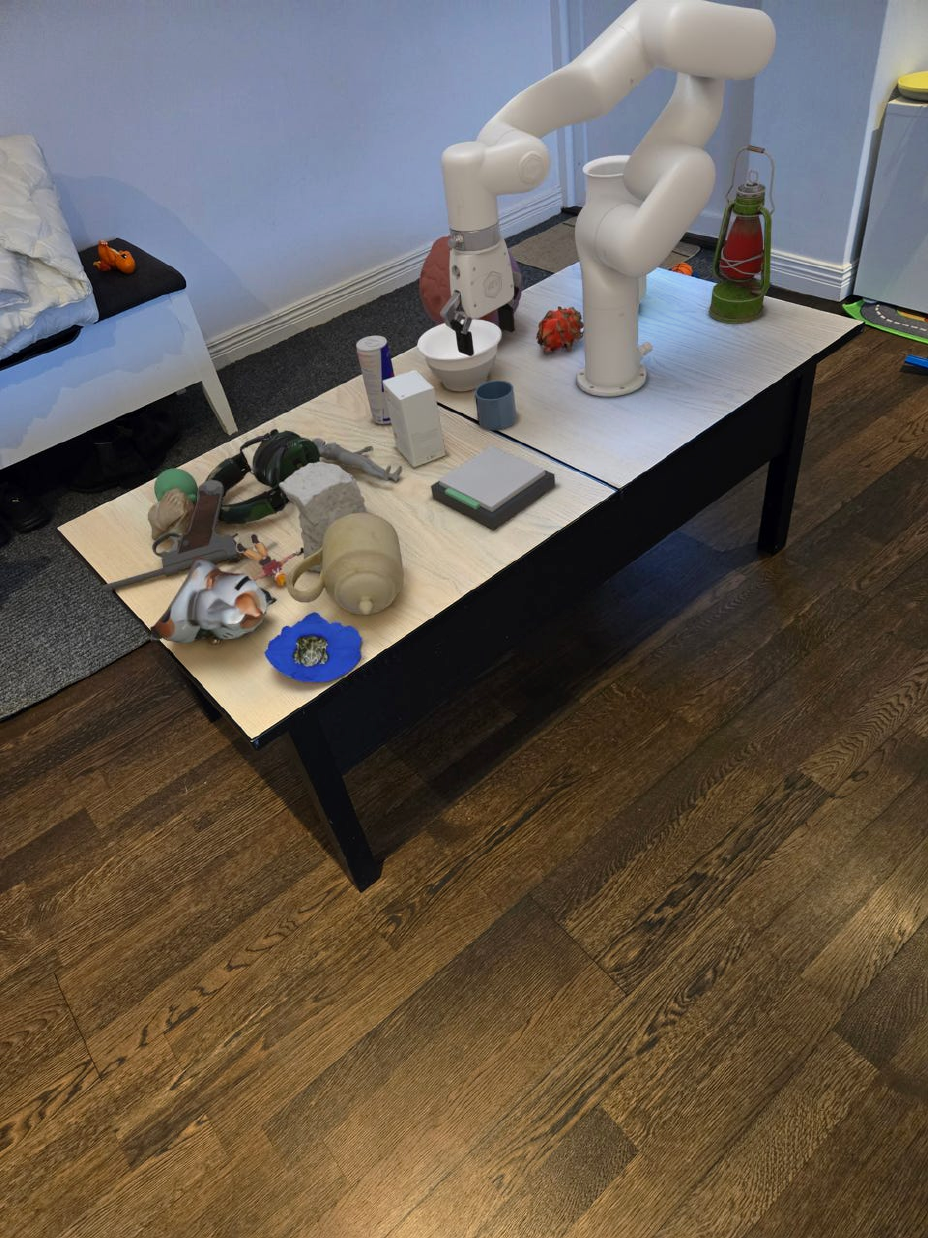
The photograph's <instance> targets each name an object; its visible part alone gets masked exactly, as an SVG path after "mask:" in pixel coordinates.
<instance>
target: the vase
mask: <svg viewBox="0 0 928 1238" xmlns="http://www.w3.org/2000/svg"><path fill="white" fill-rule="evenodd" d="M630 156H631V155H630V154H629V155H628V154H621V155H619V154H618V155H608V156H604V157H599V158H596V159H593V160H590V161H588V162H587V163H585V164H584V165H583V167H582V172H583V173H584V174H585V175H586V181H585V182H586V184H585V200H584V201H585V202H584V205H585V204H586V203H588V202H589V201H590V200H592V199H593V198H596V197H599V196H604V195H608V196H615V197H618V198H621V199H624V200H626V201H628V202H630V203H633V204H635V205H637V206H638V207H640V206H641V205H642V204H643V201H641V200H639V199H637V198H635V197H634V196H633V195H631V194H630V193H629V192H628V190H627V189H626V187H625V185H624V182H623V172H624V168H625V165H626V163H627V161H628V159H629V158H630ZM638 281H639V303H638V309H640V303H641V302H642V301H643V300H645V299H644V298H645V297H646V295H647V288H648V287H647V285H648V284H647V275H645V276H642V277H638Z"/></svg>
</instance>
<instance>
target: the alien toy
mask: <svg viewBox="0 0 928 1238" xmlns="http://www.w3.org/2000/svg"><path fill="white" fill-rule="evenodd" d="M177 488H178V489H180V490H182V491H183V493H185V494H186V495H187V497H188V499H189V500H190V501H191V502H192V503H193V504H195V503H197V500H198V497H197V490H198V488H199V486H198V484H197V480H196V479H195V478H194V476H193V475H192V474H190V473H189V472H188V471H186V470H184V469H183V468H182V469H181V468H169V469H166V470H164V471H162V472H161V473H160V474H159V475H158V476H157V477H156V480H155V481H154V487H153V489H154V491H153V492H154V495H155V499H156V500H157V501H156V502H159V501H161V499H162V497H163V495H164V494H165V493H166V492H167V491H170V490H171V489H177Z"/></svg>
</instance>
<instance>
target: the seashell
mask: <svg viewBox="0 0 928 1238" xmlns="http://www.w3.org/2000/svg"><path fill="white" fill-rule="evenodd" d="M194 504H195V503H192V502H191V501H190V500H189V499H188V497H187V495H186V494H185V493H183V491H182V490H180V489H178V488H177V489H171V490H170V491H167V492H166V493H165V494H164V495H163V497H162V499H161V501H159V502H158V501H156V503H155V504H153V505H152V506H151V507H150V508H149V509H148V512H147V521H148V522H149V526H150V528H151V535H150V537H151V539H152V540H153V541H156V540H157V539H158V538H160V537H161V536H163V535H164V534H166V533H177V534H179V535H186V534H187V532H188V530H189V527H190V524H191V521H192V517H193V514H194V510H195V507H196V505H194ZM175 538H176V539H177V540H178V542H181V539H180V538H179V537H176V536H175ZM166 541H170V542H174V540H173V539H172V538H168V539H166Z"/></svg>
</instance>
